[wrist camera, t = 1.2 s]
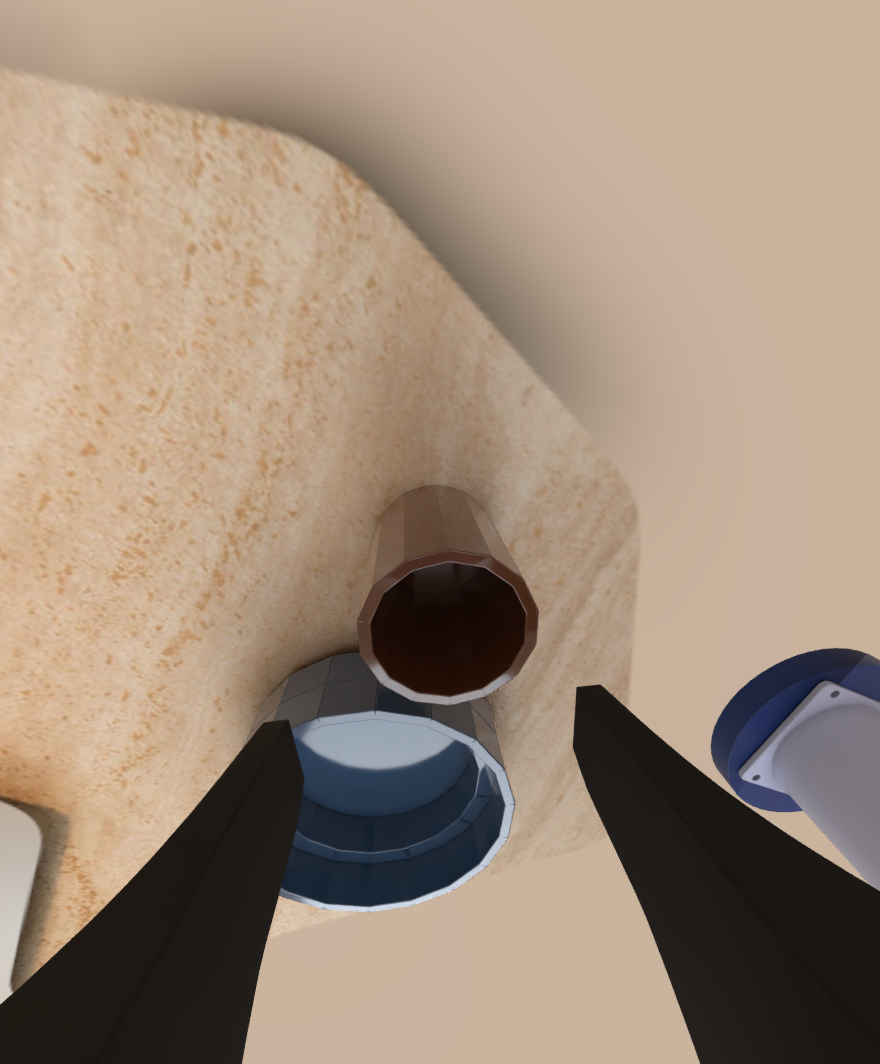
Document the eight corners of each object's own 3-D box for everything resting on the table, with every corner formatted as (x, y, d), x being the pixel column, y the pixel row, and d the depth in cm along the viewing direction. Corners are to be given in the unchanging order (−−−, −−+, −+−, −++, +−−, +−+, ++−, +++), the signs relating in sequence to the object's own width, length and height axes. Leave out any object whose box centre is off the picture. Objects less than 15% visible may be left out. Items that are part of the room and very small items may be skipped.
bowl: (537, 685, 22) (566, 758, 18) (435, 841, 26) (440, 930, 22) (300, 606, 20) (271, 671, 16) (226, 794, 24) (187, 886, 19)
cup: (514, 512, 19) (571, 588, 12) (461, 611, 20) (487, 724, 14) (403, 464, 18) (401, 520, 11) (356, 573, 19) (331, 677, 13)
